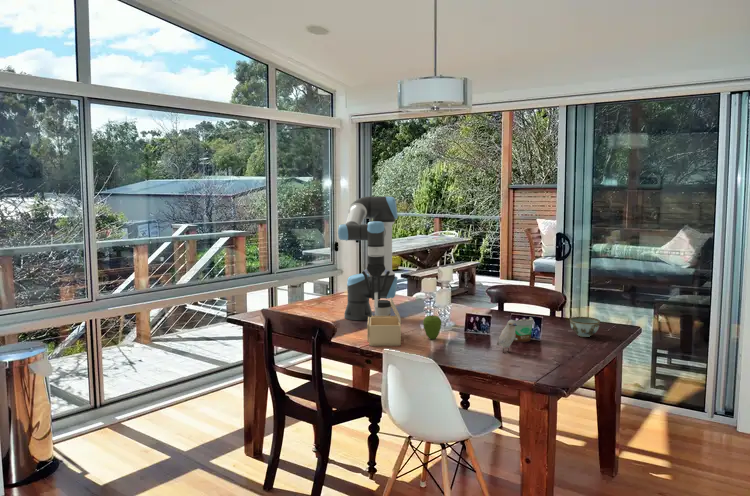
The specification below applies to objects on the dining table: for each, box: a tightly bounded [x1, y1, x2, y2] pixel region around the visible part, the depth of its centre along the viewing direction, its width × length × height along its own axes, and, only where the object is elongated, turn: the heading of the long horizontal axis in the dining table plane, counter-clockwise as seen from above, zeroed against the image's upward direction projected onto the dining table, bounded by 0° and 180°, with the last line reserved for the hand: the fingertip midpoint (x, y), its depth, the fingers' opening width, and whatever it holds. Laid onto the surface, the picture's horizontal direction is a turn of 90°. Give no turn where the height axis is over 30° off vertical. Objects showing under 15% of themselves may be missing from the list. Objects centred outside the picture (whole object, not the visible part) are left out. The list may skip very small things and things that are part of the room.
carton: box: [366, 315, 402, 347], centre depth 285 cm, size 20×15×10 cm
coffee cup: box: [374, 299, 392, 316], centre depth 302 cm, size 8×8×15 cm
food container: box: [512, 316, 535, 343], centre depth 284 cm, size 12×6×10 cm, turn 117°
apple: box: [422, 314, 443, 340], centre depth 288 cm, size 9×8×12 cm
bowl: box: [569, 316, 601, 338], centre depth 292 cm, size 14×13×8 cm
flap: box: [389, 298, 402, 325], centre depth 284 cm, size 16×1×10 cm, turn 179°
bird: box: [496, 319, 517, 354], centre depth 264 cm, size 5×14×15 cm, turn 23°
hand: (376, 306), depth 284 cm, fingers closed
